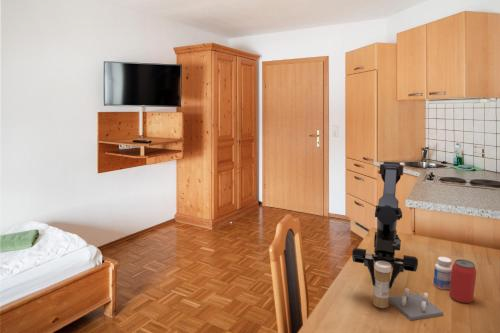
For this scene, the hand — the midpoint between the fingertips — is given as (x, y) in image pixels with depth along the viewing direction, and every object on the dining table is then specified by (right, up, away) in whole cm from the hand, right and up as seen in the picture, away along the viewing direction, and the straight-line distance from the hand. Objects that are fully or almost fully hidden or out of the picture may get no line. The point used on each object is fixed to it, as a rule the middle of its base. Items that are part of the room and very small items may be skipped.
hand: (381, 286), depth 107 cm
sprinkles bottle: (+1, -6, +3) cm, 7 cm away
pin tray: (+11, -7, +2) cm, 13 cm away
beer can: (+28, -6, +8) cm, 30 cm away
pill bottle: (+26, -5, +15) cm, 31 cm away
